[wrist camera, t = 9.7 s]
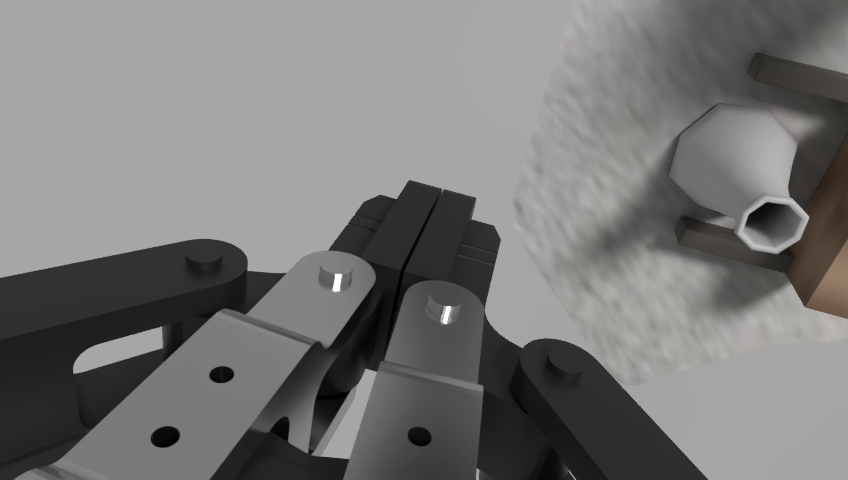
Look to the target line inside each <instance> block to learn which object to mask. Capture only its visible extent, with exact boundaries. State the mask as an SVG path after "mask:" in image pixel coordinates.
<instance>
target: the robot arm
mask: <svg viewBox="0 0 848 480" xmlns="http://www.w3.org/2000/svg"><path fill="white" fill-rule="evenodd" d="M441 193H442V194H441ZM475 202H476V198H475V197H471V196H467V195H464V194H460V193H456V192H452V191H449V190H445V189H444V190H443V192H442V189H441V188H437V187H434V186H430V185H426V184H422V183H419V182H415V181H411V180H409V181H408V183H407V184H406V186H405V187H404V189H403V191H402V192H401V194H400V195H399V197H398V198H397V199H394V198H390V197H387V196H383V195H379V196H376V197H375V198H372V199H370V200H367V201H365V202H364V203H363V204H362V205H361V207H360V208H359V209H358V211H357V212H356V213H355V216H353V218H352V219H351V220H350V222H349V223H348V225H347V226H346V227H345V228H344V230H343V231H342V232H341V234H340V235H339V236H338V238H337V239H336V240H335V242H334V243H333V245H332V246H331V247H330V249H329V250H328V251H320V252H315V253H312V254H309V255H307V256H305V257H303V258H302V259H301V260H299V261H298V262H297V263H296V265H294V267H293V268H291V269H290V271H289V272H288V273H265V272H253V271H247V266H248V261H247V257H246V255H245V254H244V252H242V250H241V249H239V248H238V247H236V246H234V245H232V244H230V243H227V242H223V241H219V240H212V239H195V240H188V241H183V242H178V243H173V244H168V245H163V246H158V247H153V248H148V249H143V250H138V251H133V252H129V253H123V254H118V255H113V256H108V257H103V258H98V259H93V260H88V261H84V262H78V263H73V264H68V265H63V266H58V267H53V268H48V269H43V270H38V271H33V272H28V273H23V274H18V275H13V276H8V277H3V278H0V480H476V469H477V468H478V469H479V470H480V471H479V480H574V478H573V477H572V475H571V474H570V473H569V470H570V472H571V473H572V474H573V475H574V477H575V478H576V480H708V479H707V478H706V477H705V476H704V475H703V474H702V472H701V471H699V470H698V468H697V467H696V466H695V465H694V464H693V463H692V462H691V461H690V460H689V459H688V458H687V456H686V455H685V454H684V453H683V452H682V451H681V450H680V449H679V448H678V447H677V446H676V445H675V443H674V442H673V441H672V440H671V439H670V438H669V437H668V436H667V435H666V434H665V433H664V432H663V431H662V430H661V428H660V427H659V426H658V425H657V424H656V423H655V422H654V421H653V420H652V419H651V418H650V417H649V416H648V415H647V413H646V412H645V411H644V410H643V409H642V408H641V407H640V406H639V405H638V404H637V403H636V402H635V400H634V399H633V398H632V397H631V396H630V395H629V394H628V393H627V392H626V391H625V390H624V389H623V388H622V387H621V385H620V384H619V383H618V382H617V381H616V380H615V379H614V378H613V377H612V376H611V375H610V374H609V373H608V371H607V370H606V369H605V368H604V367H603V366H602V365H601V364H600V363H599V362H598V361H597V360H596V359H595V358H594V357H593V356H592V355H591V354H589V353H588V352H587V351H585V350H583V349H582V348H580V347H578V346H576V345H574V344H571V343H568V342H566V341H561V340H557V339H538V340H534V341H532V342H530V343H528V344H527V345H525V346H524V348H521V347H519V346H517V345H515V344H514V343H512V342H510V341H508V340H507V339H505V338H504V337H503V336H501V335H500V334H499V333H497V331H495V330H494V328H493V327H492V326H491V325H490V323H489V322H488V320H487V318H486V315H485V304H486V300H487V296H488V291H489V287H490V283H491V279H492V274H493V270H494V266H495V262H496V258H497V253H498V249H499V245H500V241H501V239H500V237H499V235H498V233H497V231H496V229H495V227H494V226H493V225H489V224H486V223H482V222H478V221H475V220H471V219H472V214H473V211H474V207H475ZM161 326H162V333H163V334H162V335H163V348H162V349H159V350H155V351H152V352H149V353H145V354H142V355H139V356H135V357H132V358H129V359H125V360H122V361H119V362H116V363H112V364H109V365H105V366H102V367H99V368H96V369H92V370H89V371H86V372H82V373H76V374H73V365H74V363H75V361H76V359H77V358H78V356H79V355H80V354H81V353H83V352H84V351H85V350H86V349H88V348H90V347H92V346H94V345H97V344H100V343H103V342H107V341H111V340H114V339H118V338H122V337H125V336H129V335H133V334H136V333H140V332H143V331H147V330H150V329H154V328H158V327H161ZM365 369H369V370H373V371H376V372H377V374H376V377H375V380H374V384H373V387H372V390H371V393H370V396H369V400H368V403H367V406H366V409H365V412H364V415H363V418H362V421H361V425H360V428H359V431H358V434H357V437H356V440H355V444H354V447H353V450H352V453H351V456H350V459H341V458H330V457H321V455H322V453H323V451H324V450H325V448H326V446H327V445H328V443H329V441H330V439H331V438H332V436H333V434H334V433H335V431H336V429H337V428H338V426H339V424H340V422H341V421H342V418H343V417H344V415H345V414H346V412H347V410H348V409H349V407H350V405H351V403H352V402H353V400H354V397H355V392H356V386H357V384H358V383H359V381H360V380H361V378H362V376H363V373H364V371H365Z"/></svg>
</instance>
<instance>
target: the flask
mask: <svg viewBox="0 0 848 480" xmlns="http://www.w3.org/2000/svg"><path fill="white" fill-rule="evenodd" d="M797 145H798V141H797V140H796V139H795V138H794V136H793V135H792V134H791V133H790V132H789V131H788V130H787V129H786V128H785V127H784V126H783V125H782V124H781V122H780V121H779V120H778V119H777V118H776V117H775V116H774V115H773V114H772V113H771V112H770V111H769V110H768V109H760V108H752V107H745V106H737V105H729V104H721V103H719V104H718V105H717V106H715V107H714V108H713V109H712V110H710V111H709V112H708V113H707V114H706V115H704V116H703V117H702V118H701V119H699V120H698V121H697V122H696V123H694V124H693V125H692V126H691V127H689V128H688V129H687V130H686V131H684V132H683V133H682V134H681V135H680V138H679V141H678V145H677V148H676V152H675V155H674V159H673V162H672V166H671V169H670V173H669V177H670V178H671V179H672V180H673V181H674V182H675V183H676V184H677V185H678V186H679V187H680V188H681V189H682V190H683V191H684V192H685V193H686V194H687V195H688V196H689V197H690V198H691V199H692V200H693V201H694V202H695V203H696V204H697V205H699V206H702V207H705V208H708V209H711V210H714V211H717V212H720V213H722V214H724V215H727V216H729V217H732V218H734V219H735V220H736V222H737V224H736V227H735V230H734V233H735V234H736V235H737V236H738V237H739V238H740V239H741V240H742V241H743V242H744V243H745V244H746V245H747V246H748V247H749V248H750V249H751V250H754V251H760V252H766V253H772V254H778V253H780V252H781V251H783V250H785V249H786V248H788V247H789V246H791V245H792V244H794V243H796V242H797V241H799V240H800V239H801V236H802V234H803V231H804V229H805V227H806V224H807V222H808V220H809V216H808V215H807V214H806V213H805V211H804V210H803V209H802V208H801V207H800V206H799V205H798V204H797V203H796V202H795V201H794V200H793V199H792V198H790V196H789V191H788V184H789V178H790V173H791V168H792V164H793V160H794V157H795V153H796V149H797Z"/></svg>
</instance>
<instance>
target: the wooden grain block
mask: <svg viewBox="0 0 848 480" xmlns="http://www.w3.org/2000/svg"><path fill="white" fill-rule="evenodd" d="M747 73H748V74H749V75H750V76H751V77H752V78H753V79H754V80H755V81H759V82H763V83H767V84H772V85H776V86H780V87H784V88H788V89H793V90H797V91H801V92H805V93H809V94H814V95H818V96H822V97H826V98H830V99H834V100H839V101H843V102H847V103H848V74H845V73H840V72H836V71H832V70H827V69H823V68H819V67H815V66H810V65H806V64H802V63H798V62H793V61H789V60H785V59H781V58H776V57H772V56H768V55H764V54H759V53H756V54H755V57H754V59H753V61H752V63H751V65H750V68H749V70H748V72H747ZM804 211H805V213H806V214H807V215H808V216H809V220H808V222H807V224H806V227H805V229H804V231H803V234H802V236H801V239H800V240H799V241H797V242H796V243H794V244H792V245H791V246H789V247H788V248H786V249H785V250H783V251H781V252H780V253H778V254H772V253H766V252H760V251H754V250H751V249H750V248H749V247H748V246H747V245H746V244H745V243H744V242H743V241H742V240H741V239H740V238H739V237H738V236H737V235H736V234H735V233H734V230H733V229H729V228H725V227H721V226H717V225H714V224H710V223H706V222H702V221H698V220H695V219H691V218H687V217H683V216H681V219H680V221H679V223H678V225H677V227H676V230H675V233H676V237H677V240H678V243H679V245H683V246H686V247H690V248H694V249H697V250H701V251H705V252H709V253H712V254H716V255H720V256H724V257H727V258H731V259H735V260H738V261H742V262H746V263H750V264H753V265H757V266H761V267H764V268H768V269H772V270H776V271H779V272H783V273H786V275H787V276H788V278H789V280H790V282H791V283H792V285H793V287H794V289H795V291H796V292H797V294H798V296H799V298H800V299H801V301H802V303H803V305H804V306H805V307H806V308H810V309H814V310H817V311H821V312H824V313H828V314H832V315H835V316H839V317H843V318H846V319H848V135H847V137H846V138H845V140H844V142H843V144H842V145H841V147H840V149H839V151H838V152H837V154H836V156H835V158H834V159H833V161H832V163H831V165H830V166H829V168H828V170H827V172H826V173H825V175H824V177H823V179H822V181H821V182H820V184H819V186H818V188H817V189H816V191H815V193H814V195H813V196H812V198H811V200H810V202H809V203H808V205H807V207H806V209H805V210H804Z"/></svg>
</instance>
